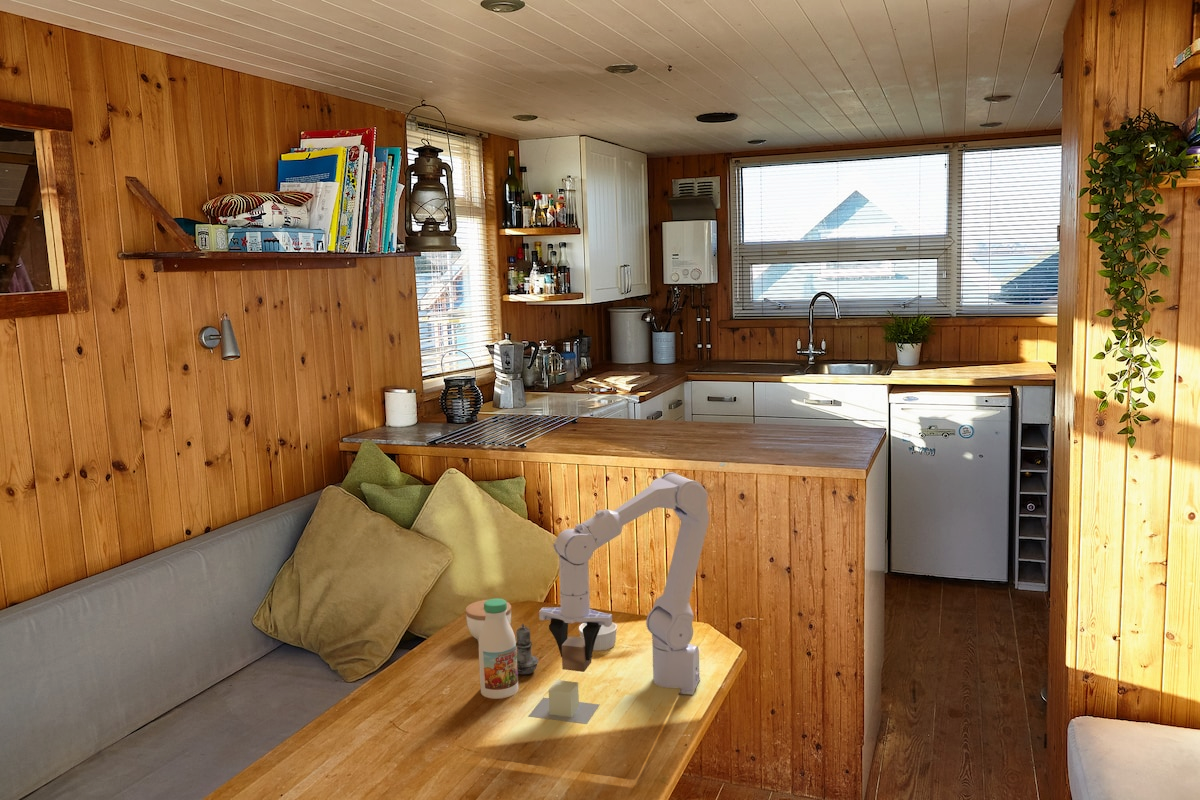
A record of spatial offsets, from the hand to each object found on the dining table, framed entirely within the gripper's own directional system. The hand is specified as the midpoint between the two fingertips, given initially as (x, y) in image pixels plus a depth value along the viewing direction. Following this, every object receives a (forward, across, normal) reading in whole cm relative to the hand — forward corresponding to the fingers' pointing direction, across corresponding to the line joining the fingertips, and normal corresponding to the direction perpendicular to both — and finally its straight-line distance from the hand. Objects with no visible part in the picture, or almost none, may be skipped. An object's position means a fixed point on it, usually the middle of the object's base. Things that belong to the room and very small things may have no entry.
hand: (576, 656), depth 185 cm
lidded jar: (+11, -32, +27) cm, 43 cm away
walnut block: (+2, 0, 0) cm, 2 cm away
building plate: (+11, -2, -4) cm, 11 cm away
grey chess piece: (+11, -16, +10) cm, 22 cm away
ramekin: (+11, -6, +30) cm, 33 cm away
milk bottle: (+11, -18, +1) cm, 21 cm away
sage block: (+10, -2, -4) cm, 10 cm away
